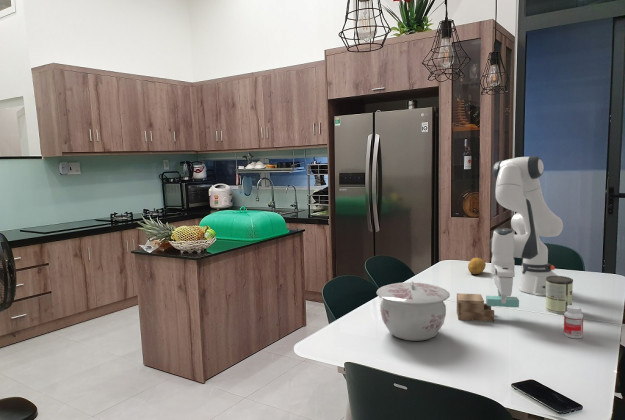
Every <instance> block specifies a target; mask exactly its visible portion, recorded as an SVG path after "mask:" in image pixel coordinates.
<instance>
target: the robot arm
mask: <svg viewBox="0 0 625 420" xmlns="http://www.w3.org/2000/svg"><path fill="white" fill-rule="evenodd" d="M544 167H545V166H544V163H543V160H542V159H541V157H539V156H536V155H530V156H520V157H514V158H509V159H505V160H499V161H497V162H495V164H493V166H492V171H491V172H492V176H493V179H494V180H495V181H496V182H495V200H496V202H497V203H498V204H499V206H502V207H503V208H505V209H506V210H510V211H513V212H515V214H513V216H512V218H511V220H510V225H511V228H512V229H511V228H508V227H507V228H506V227H500V228H496V229H494V231H493V232H492V233H493V235H492V237H491V238H490V240H489V242H490V243H489V244H490V246H489V251H490V252H491V254H492V257H491V265H490V266H491V268H490V270H491V271H490V272H492V273H493V274H494V275H493V277H494V281H493V282H494V285H495V286H496V288H497V294H498V295H497V296H501V303H506V298H507V296H508V297H512V293H513V286H514V285H513V284H514V278H515V277H516V272H515V264H516V263H515V262H516V261H515V258H519V259H522V262H521V281H520V283H519V287H518V290H519V291H521V292H523V293H526V294H531V295H535V296H537V297H539V296H542V297H543V296H545V297H546V277H548V276H559V275H558V274H557V273H556V272H554V270H555V269H556V267H555V266H554V265H553V264H550V263H548V259H549V258H548V257H549V256H548V255H549V249H548V247H547V245H546V244H544V242H542V239H541V238H540V237H543V238H544V237H545V238H551V237H552V238H553V237H557V236H560V234H561V233H562V231H563V229H564V223H563V220H562V219H561V218H560V217H559V216H558V215H556V214H555V213H554V212H553V211H552V210H551V209H550V208H549V206H548V205H547V202H546V201H545V198H544V194H543V189H542V186H541V182H540V179H539V178H541V176H542V175H543V173H544ZM514 232H516V234H515V233H514Z"/></svg>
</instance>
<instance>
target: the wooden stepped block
mask: <svg viewBox="0 0 625 420" xmlns="http://www.w3.org/2000/svg"><path fill="white" fill-rule="evenodd" d="M482 295H483V294H481V293H480V294H479V293H459V292H458V293H456V315H457V316H456V317H457V319H458V320H459V321H473V322H474V321H476V322H477V321H478V322H479V321H481V322H495V310H494V309H492V306H487V303H486V302H485V300H484V298H483V296H482Z"/></svg>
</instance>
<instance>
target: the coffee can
mask: <svg viewBox="0 0 625 420" xmlns="http://www.w3.org/2000/svg"><path fill="white" fill-rule="evenodd" d="M573 283H574V279H573V278H571V277H569V276H563V275H558V276H548V277H546V296H545V310H546V311H547V312H550V313H551V314H552V313H553V314H558V315H559V314H560V315H564V313H565V312H566V311H567V306H568V305H573Z"/></svg>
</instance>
